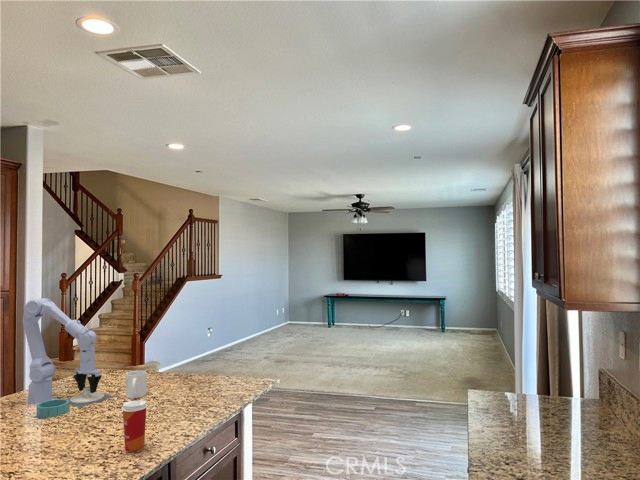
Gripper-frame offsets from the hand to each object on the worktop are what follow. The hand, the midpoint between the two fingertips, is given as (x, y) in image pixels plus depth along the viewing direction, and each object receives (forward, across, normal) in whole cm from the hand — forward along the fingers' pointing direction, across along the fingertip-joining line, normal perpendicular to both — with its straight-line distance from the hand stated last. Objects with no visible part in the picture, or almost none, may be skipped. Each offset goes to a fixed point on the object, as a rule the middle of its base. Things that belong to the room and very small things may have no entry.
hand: (87, 391), depth 197 cm
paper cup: (+4, +60, -26) cm, 66 cm away
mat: (+4, 0, 0) cm, 4 cm away
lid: (+3, 0, 0) cm, 3 cm away
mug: (+4, +16, +11) cm, 20 cm away
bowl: (+4, +3, -17) cm, 18 cm away
